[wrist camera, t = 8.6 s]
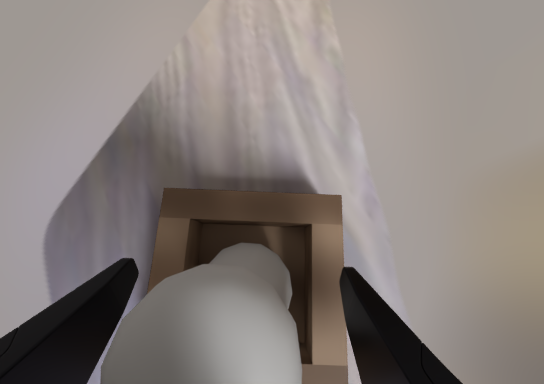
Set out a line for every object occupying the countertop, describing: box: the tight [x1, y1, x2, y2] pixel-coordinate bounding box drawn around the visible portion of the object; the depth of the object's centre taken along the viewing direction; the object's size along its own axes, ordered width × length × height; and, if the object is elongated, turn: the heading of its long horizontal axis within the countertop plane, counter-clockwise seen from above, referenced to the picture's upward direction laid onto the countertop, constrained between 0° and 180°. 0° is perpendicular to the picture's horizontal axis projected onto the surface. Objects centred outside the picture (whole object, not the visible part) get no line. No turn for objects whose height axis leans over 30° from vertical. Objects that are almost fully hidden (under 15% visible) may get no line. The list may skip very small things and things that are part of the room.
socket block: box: [147, 188, 348, 384], centre depth 16 cm, size 12×12×4 cm
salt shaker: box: [101, 243, 302, 384], centre depth 10 cm, size 6×6×13 cm
